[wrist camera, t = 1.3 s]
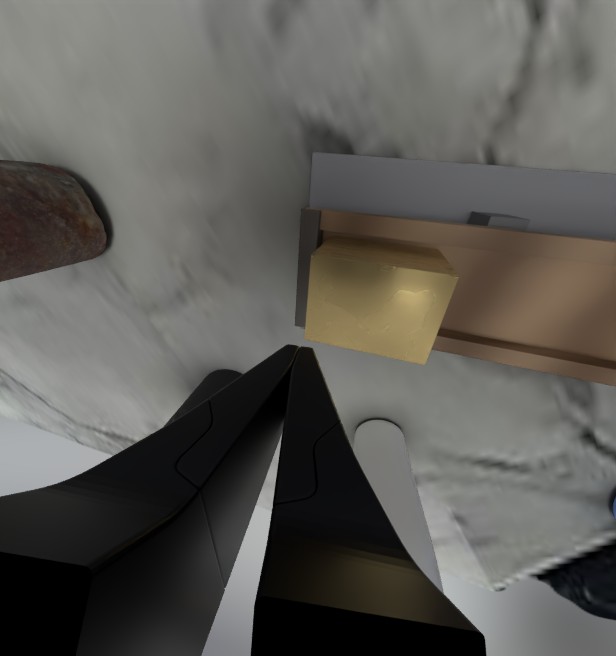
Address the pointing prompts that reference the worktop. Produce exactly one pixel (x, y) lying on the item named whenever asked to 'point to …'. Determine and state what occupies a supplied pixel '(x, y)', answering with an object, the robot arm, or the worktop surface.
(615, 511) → the water jug
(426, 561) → the drinking glass
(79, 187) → the candle
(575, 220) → the stand
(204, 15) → the worktop surface
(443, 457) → the worktop surface
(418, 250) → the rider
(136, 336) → the worktop surface
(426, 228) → the beam
